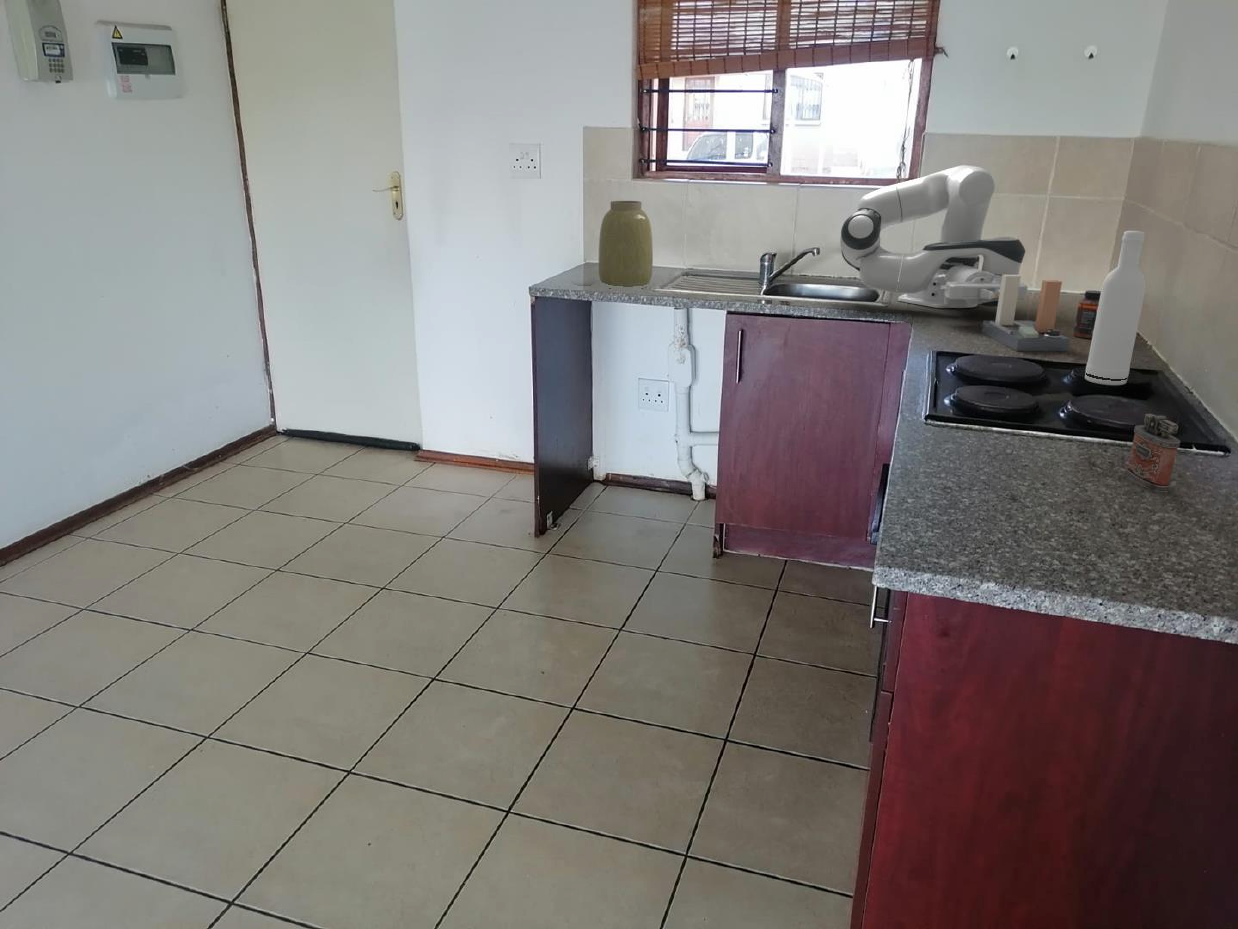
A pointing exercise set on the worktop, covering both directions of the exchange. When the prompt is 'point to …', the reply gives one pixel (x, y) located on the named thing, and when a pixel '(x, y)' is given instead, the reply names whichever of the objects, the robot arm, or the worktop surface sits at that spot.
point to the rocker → (1028, 332)
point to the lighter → (1153, 453)
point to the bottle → (1118, 315)
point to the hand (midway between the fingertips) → (996, 296)
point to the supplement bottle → (1087, 314)
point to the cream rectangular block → (1007, 299)
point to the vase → (625, 246)
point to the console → (1018, 342)
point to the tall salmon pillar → (1048, 305)
